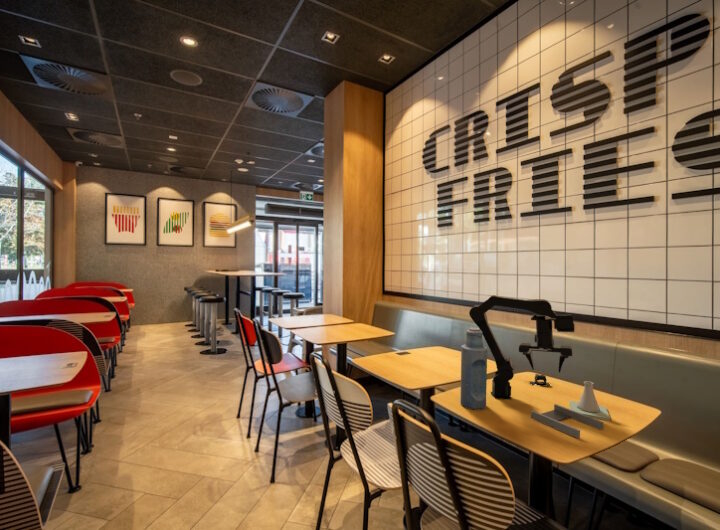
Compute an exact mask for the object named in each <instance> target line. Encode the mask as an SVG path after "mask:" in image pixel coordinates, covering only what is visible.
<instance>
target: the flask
mask: <svg viewBox="0 0 720 530" xmlns="http://www.w3.org/2000/svg"><path fill="white" fill-rule="evenodd" d="M594 385H595V383H594V382H592V381H586V380H585V381H583V386H584V387H583V392H582V395H581V396H580V399H579V401H578V402H579V403H578V405H577V407H578V408H580V409H581V410H584V411H588V412H598V411H599V410H600V408H599V406H600V405H599V403H598V401H597V399H596V396H595V392H594ZM598 405H599V406H598Z"/></svg>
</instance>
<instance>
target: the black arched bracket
mask: <svg viewBox="0 0 720 530" xmlns="http://www.w3.org/2000/svg"><path fill="white" fill-rule="evenodd" d="M546 377H547V376H546V375H545V374H543V373H542V374H541V373H540V374H538V373H535V376H534V381H529V382H530V383H529V382H528V383H529V385H531V384H532V385H531V386H534V385H547V386H546V387H549V386H550V384H551V383H550V382H547V381H548V380H547V378H546ZM549 383H550V384H549Z"/></svg>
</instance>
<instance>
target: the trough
mask: <svg viewBox="0 0 720 530" xmlns="http://www.w3.org/2000/svg"><path fill="white" fill-rule="evenodd" d="M553 405H554V406H553V409H552V410H550V411H546V412H541V413H540V412H538V411H535V410H530V419H533V420H534V421H537V422H539V423H541V424H544V425H546V426H548V427H550V428H553V429H556V430H558V431H560V432H562V433H563V434H567V435H569V436H571V437H574V438H576V439H577V440H578V439H581V430H580V429H578V428H575V427H573V426H571V425H568V424H566V423H563V422H562V421H566V420H569V419H573V420H574V421H578V422H580V423H583V424H586V425H588V426H590V427H592V428H595V429H598V430H599V431H603V430H604V421H601V420H600V419H597V418H592V417H589V416H586V415H583V414H581V413H578V412H576V411H573V410H571V409H570V408H567V407H564V406H562V405H559V404H557V403H554V404H553Z"/></svg>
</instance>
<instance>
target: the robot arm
mask: <svg viewBox="0 0 720 530" xmlns="http://www.w3.org/2000/svg"><path fill="white" fill-rule="evenodd" d="M495 306H496V307H497V306H498V307H503V308H509V309H510V308H512V309H518V310H525V311H528V312H531V313H534V314H533V315H532V316H531V317H530V320H531V321H535V327H536V329H535V331H536V334H534V343H536V345H532V344H531V343H530V342H521V343H520V344H519V345H518V352H519V353H522V355H524V356H525V357H526V359H527V360H528V362H529V364H530V367H531V369H532V370H533V371H534V370H535V364H534V356H533V351H535V352H547V353H559V359H558V361H559V362H558V373H559V374H560V373H561V370H562V368H563V364H564V362H565V360H566V359H569V358H570V357H573V354H574V352H573V351H574V350H573V348H574V347H572V346H571V345H560V347H556V346H555V341H554V340H555V339H554V337H553V329H554V330H556V331H557V333H575V323H574V316H573V314H571V313H570V314H569V313H568V314H557V313H556V312H555V311H554V310H553V309H552V305H551V303H550V302H549V300H547V299H545V298H544V299H543V298H542V299H541V298H539V299H538V298H536V299H521V298H520V299H519V298H513V297H504V296H497V295H491V296H490V297H488V299H486V300H485V301H483V302H482V303H480V304H476V305H474V306H473V307H471V309H469V313H468V314H469V317H470V318H471V320H472V322H474V324H475V325H476V327H477V328H479V329H480V330H481V331H482V334H483V335H482V337H483V338H484V340H485V342H486V344H487V346H488V348H489V351H490V352H491V354H492V357H493V358H494V363H495V366H496V371H495V372H494V373H493V377H492V380H491V382H492V383H491V386H492V387H491V391H490V394H491V395H492V396H493V397H495V398H494V399H496V400H497V399H498V400H512V386H511V382H510V381H511V380H512V379H513V378H514V376H515V365H514V363H513V362H512V359H511V357H506V356H505V355H504V352H503V351H502V349H501V347H500V345H499V342H498V341H497V339H496V336H495V334H494V332H493V330H492V329H491V327H490V324H489V320H488V315H487V312H488V311H489V310H491V309H492V308H493V307H495ZM537 314H538V315H537ZM546 316H547V317H546ZM553 327H554V328H553Z"/></svg>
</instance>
